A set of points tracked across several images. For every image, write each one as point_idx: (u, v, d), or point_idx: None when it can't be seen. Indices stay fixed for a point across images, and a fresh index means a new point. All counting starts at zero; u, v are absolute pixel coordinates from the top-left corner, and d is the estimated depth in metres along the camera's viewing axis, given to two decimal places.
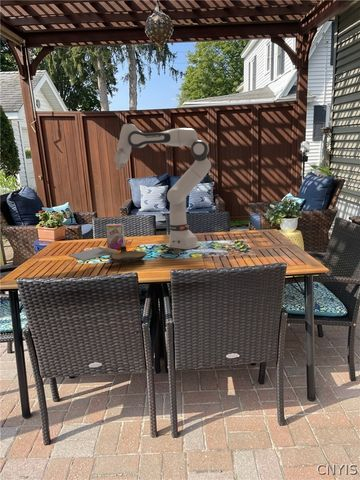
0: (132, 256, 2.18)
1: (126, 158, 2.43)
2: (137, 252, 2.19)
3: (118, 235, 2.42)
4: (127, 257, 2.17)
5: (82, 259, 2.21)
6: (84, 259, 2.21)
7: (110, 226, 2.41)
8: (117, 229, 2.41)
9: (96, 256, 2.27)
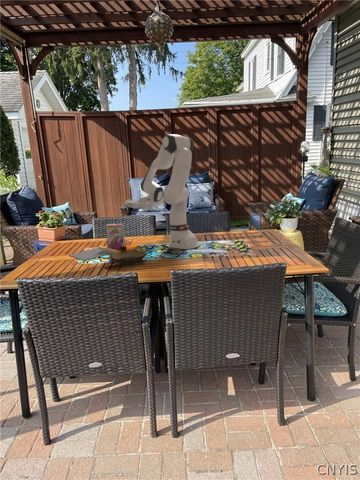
0: (132, 256, 2.18)
1: (142, 202, 2.50)
2: (137, 253, 2.19)
3: (118, 235, 2.42)
4: (127, 257, 2.17)
5: (82, 259, 2.21)
6: (84, 259, 2.21)
7: (110, 226, 2.41)
8: (117, 229, 2.41)
9: (96, 256, 2.27)
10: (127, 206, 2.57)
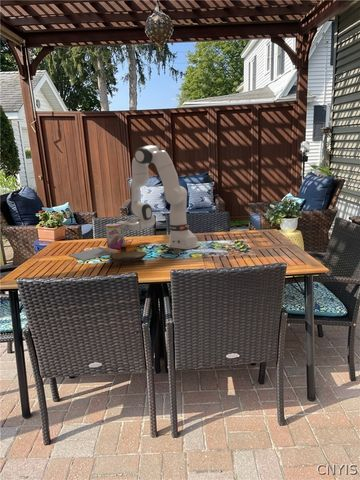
0: (132, 256, 2.18)
1: (131, 223, 2.47)
2: (137, 253, 2.19)
3: (118, 235, 2.41)
4: (127, 257, 2.17)
5: (82, 259, 2.21)
6: (84, 259, 2.21)
7: (109, 226, 2.40)
8: (116, 229, 2.40)
9: (96, 256, 2.27)
10: None
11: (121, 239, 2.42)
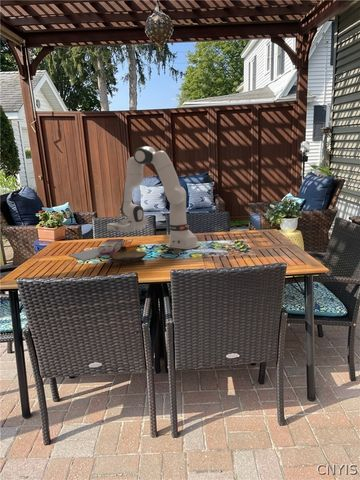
0: (132, 256, 2.18)
1: (122, 225, 2.42)
2: (137, 252, 2.19)
3: None
4: (127, 257, 2.17)
5: (82, 259, 2.21)
6: (84, 259, 2.21)
7: None
8: None
9: (96, 256, 2.27)
10: None
11: None
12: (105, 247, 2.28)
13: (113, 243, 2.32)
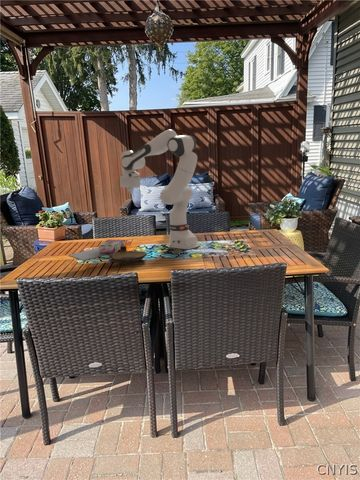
0: (132, 256, 2.18)
1: (131, 182, 2.54)
2: (137, 252, 2.19)
3: None
4: (127, 257, 2.17)
5: (82, 259, 2.21)
6: (84, 259, 2.21)
7: (104, 252, 2.30)
8: None
9: (96, 256, 2.27)
10: None
11: None
12: (105, 246, 2.29)
13: (114, 243, 2.33)
